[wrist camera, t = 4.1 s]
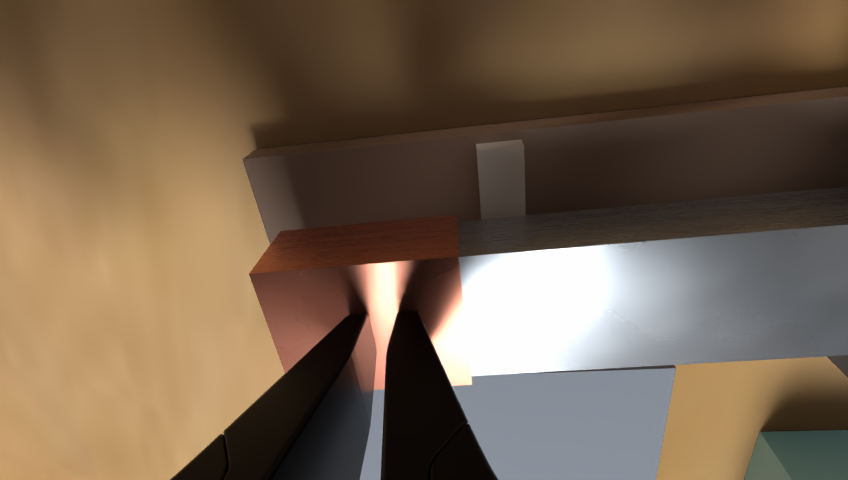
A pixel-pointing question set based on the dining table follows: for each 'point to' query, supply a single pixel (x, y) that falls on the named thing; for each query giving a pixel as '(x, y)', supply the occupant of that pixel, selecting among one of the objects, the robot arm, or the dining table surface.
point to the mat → (559, 423)
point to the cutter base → (561, 164)
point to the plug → (800, 456)
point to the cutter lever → (577, 284)
